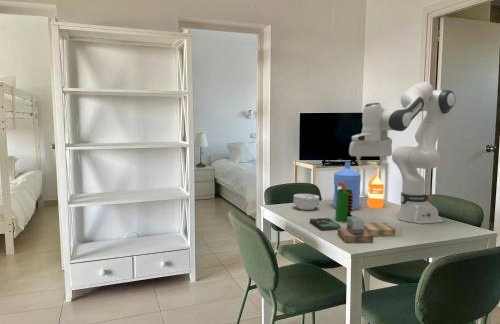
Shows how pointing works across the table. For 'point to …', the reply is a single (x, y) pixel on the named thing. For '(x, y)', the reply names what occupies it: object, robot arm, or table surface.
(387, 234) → the stand
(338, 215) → the motor
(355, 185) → the water jug
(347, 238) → the stand
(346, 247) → the table surface
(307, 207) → the paper bowls
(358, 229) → the block
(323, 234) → the table surface
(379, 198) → the orange juice
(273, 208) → the table surface
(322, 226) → the disk drive
